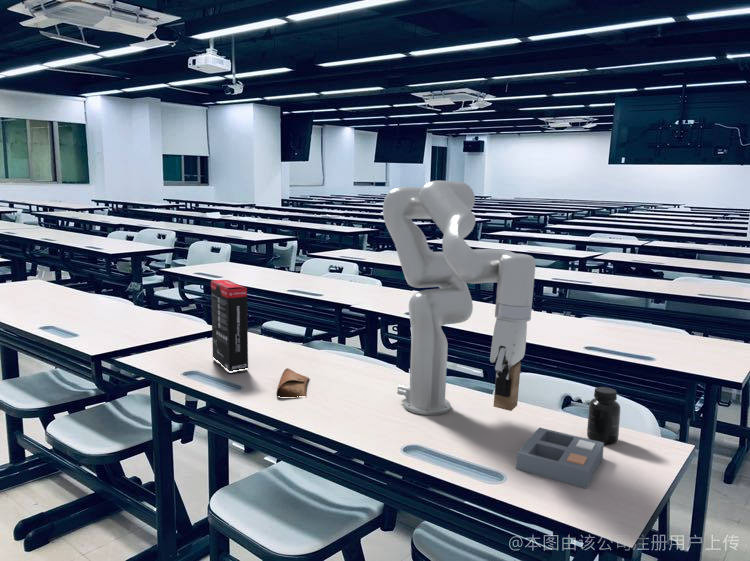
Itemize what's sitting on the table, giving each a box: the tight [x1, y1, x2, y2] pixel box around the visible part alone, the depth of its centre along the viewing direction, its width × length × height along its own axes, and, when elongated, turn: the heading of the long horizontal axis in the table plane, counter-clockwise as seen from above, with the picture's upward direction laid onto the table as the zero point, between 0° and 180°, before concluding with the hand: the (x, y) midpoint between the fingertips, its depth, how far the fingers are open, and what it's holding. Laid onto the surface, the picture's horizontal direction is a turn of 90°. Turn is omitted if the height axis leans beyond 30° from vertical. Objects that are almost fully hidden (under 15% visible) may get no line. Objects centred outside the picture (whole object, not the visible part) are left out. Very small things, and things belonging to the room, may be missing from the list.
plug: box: [493, 361, 522, 412], centre depth 121 cm, size 4×4×10 cm
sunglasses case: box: [276, 368, 310, 398], centre depth 160 cm, size 18×7×7 cm, turn 4°
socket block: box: [515, 427, 605, 489], centre depth 117 cm, size 14×16×4 cm
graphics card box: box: [210, 279, 249, 371], centre depth 176 cm, size 17×7×27 cm, turn 34°
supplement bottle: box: [586, 386, 621, 446], centre depth 129 cm, size 7×7×12 cm
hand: (506, 391), depth 122 cm, fingers closed on plug, 4 cm apart
